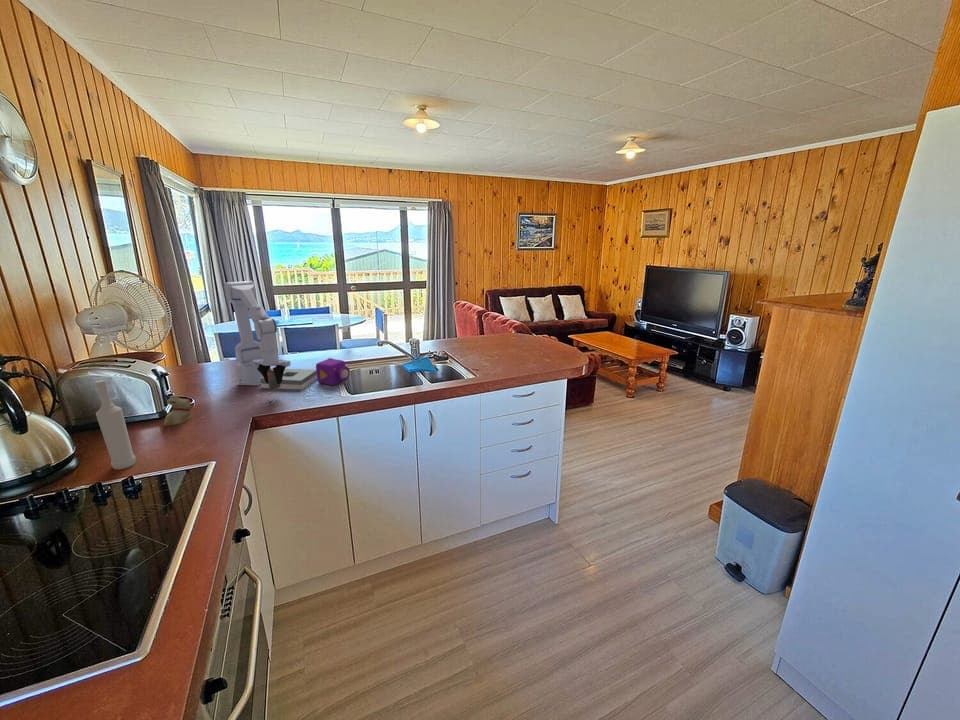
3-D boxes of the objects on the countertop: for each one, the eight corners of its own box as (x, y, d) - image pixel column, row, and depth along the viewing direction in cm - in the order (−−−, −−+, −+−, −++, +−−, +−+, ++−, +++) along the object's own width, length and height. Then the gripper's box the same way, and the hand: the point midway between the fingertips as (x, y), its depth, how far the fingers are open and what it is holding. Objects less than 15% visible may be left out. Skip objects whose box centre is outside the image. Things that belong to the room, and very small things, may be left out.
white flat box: (261, 387, 168) (260, 379, 167) (280, 376, 181) (278, 368, 180) (302, 389, 166) (301, 380, 165) (318, 378, 180) (317, 369, 179)
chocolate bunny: (192, 421, 137) (186, 395, 134) (163, 427, 133) (156, 399, 130) (193, 416, 141) (187, 389, 138) (165, 421, 137) (159, 394, 134)
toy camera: (343, 387, 169) (341, 365, 166) (314, 385, 172) (311, 363, 169) (355, 379, 179) (353, 358, 176) (328, 377, 182) (326, 356, 179)
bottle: (122, 460, 113) (97, 378, 106) (141, 459, 114) (118, 377, 106) (107, 470, 108) (80, 384, 101) (127, 469, 109) (102, 384, 101)
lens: (266, 388, 155) (263, 371, 153) (272, 384, 159) (270, 368, 157) (276, 389, 155) (274, 372, 153) (282, 385, 159) (280, 368, 157)
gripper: (244, 352, 149) (250, 385, 153) (281, 353, 148) (286, 387, 152) (256, 347, 156) (261, 379, 160) (291, 348, 155) (295, 380, 159)
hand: (274, 382), depth 157 cm, fingers closed on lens, 4 cm apart
